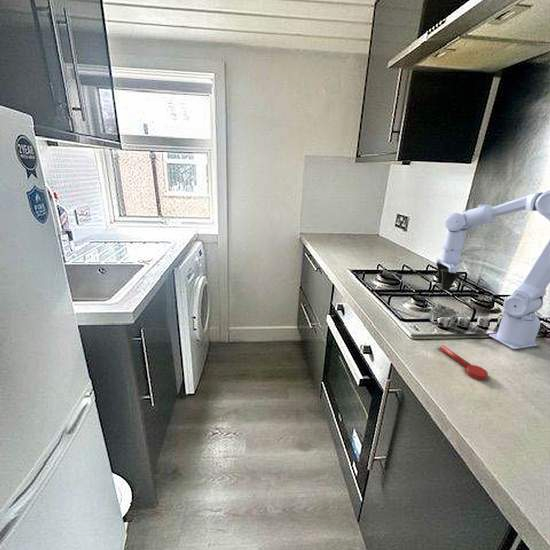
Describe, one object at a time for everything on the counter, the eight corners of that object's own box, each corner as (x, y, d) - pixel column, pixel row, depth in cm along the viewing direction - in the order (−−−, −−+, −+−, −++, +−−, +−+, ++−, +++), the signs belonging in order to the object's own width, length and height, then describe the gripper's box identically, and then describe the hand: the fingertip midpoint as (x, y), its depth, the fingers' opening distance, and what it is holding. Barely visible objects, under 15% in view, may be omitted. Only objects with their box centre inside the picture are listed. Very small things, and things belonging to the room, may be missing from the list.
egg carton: (449, 329, 97) (452, 317, 95) (425, 320, 102) (428, 309, 100) (459, 319, 104) (462, 308, 103) (436, 311, 109) (438, 301, 108)
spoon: (446, 347, 86) (447, 343, 86) (491, 378, 73) (492, 373, 73) (433, 349, 85) (434, 345, 84) (476, 381, 72) (478, 376, 72)
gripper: (435, 243, 110) (427, 278, 115) (443, 252, 97) (434, 291, 102) (457, 245, 108) (448, 280, 113) (468, 255, 95) (457, 294, 100)
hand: (443, 286), depth 107 cm, fingers open, 7 cm apart
